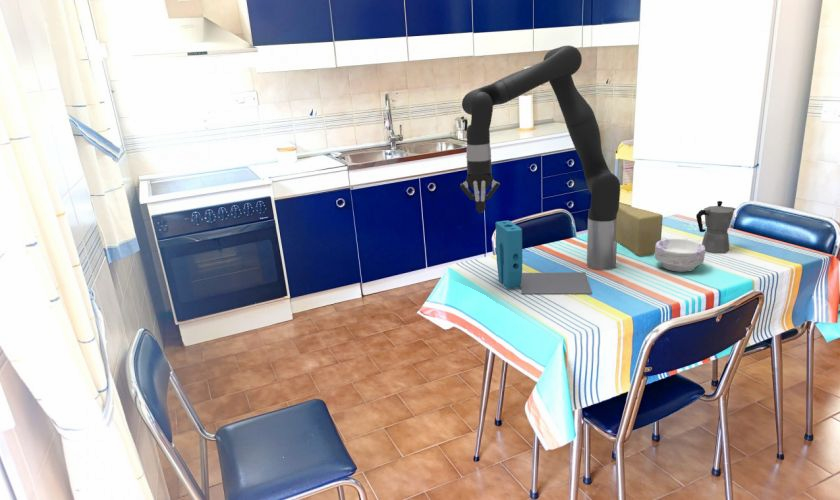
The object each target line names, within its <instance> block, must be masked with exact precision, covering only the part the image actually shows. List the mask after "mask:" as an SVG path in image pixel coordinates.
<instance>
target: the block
mask: <svg viewBox="0 0 840 500" xmlns="http://www.w3.org/2000/svg"><path fill="white" fill-rule="evenodd" d="M495 244H496V245H495V246H496V249H495V251H496V252H495V253H496V266H497V276H498V277H497V278H498V282H499V283H500V284H503V287H504V288H505V289H506V290H510V289H511V290H512V289H518V288H521V278H522V273H523V229H522V228H521V227H520V226H518V225H517V224H516V223H514V222H512V221H511V220H501V221H496V222H495Z"/></svg>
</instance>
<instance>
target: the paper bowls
mask: <svg viewBox="0 0 840 500" xmlns="http://www.w3.org/2000/svg"><path fill="white" fill-rule="evenodd" d="M705 253H706V251H705V246H704V245H702V243H701V242H698V241H695V240H691V239H685V238H665V239H661V240H660V241H658V242H657V243H656V245H655V254H654V258H655V260H656V261H658V262H659V263H660V265H661V267H663V268H664V269H666V270H669V271H673V272H677V273H679V272H682V273H685V272H690V271H693V270H694V269H695V268H696V267H698V266H699V265H702V264H703V263H704V261H705Z"/></svg>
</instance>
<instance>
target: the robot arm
mask: <svg viewBox="0 0 840 500" xmlns="http://www.w3.org/2000/svg"><path fill="white" fill-rule="evenodd" d="M582 59H583V57H582V54H581V52H580V50H579V48H577V47H575V46H573V45H562V46H560V47H556V48H553V49H550V50H549V51H547V53H545V54H544V57H543V60H542V61H540V62H538V63H536V64H534V65H532V66H529V67H527V68H523V69H522V70H518V71H516V72H514V73H511V74H509V75H507V76H504V77H503V78H500V79H498V80H496V81H495V82H493V83H490V84H487V85H483V86H482V87H479V88H476V89H473V90H471V91H469V92H467V93H466V94H465V96H464V95H463V96H464V97H463V98H462V101H461V107H462V109H463V112H465V113H466V114H467V115H470V116H471V118H470V124H469V125H468V126H467V128H466V156H465V157H466V170H467V171H466V172H467V175H466V178H465V181H463V183H460V186H459V188H460V189H461V190H462V192H464V194H465V195H466V196H467V197H468V198H469V200H471V201H472V200H473V201H475V210H476V212H478V214H481V213H484V212H485V210H486V201H487V200H490V199H491V198H492V197H493V195H494V194H495V192H496V191H497V190H498V188H499V187H500V182H499V181H496V180H494V176H493V175H492V149H491V143H490V142H491V140H490V139H491V134H490V128H491V122H492V118H493V112H494V106H499V105H503V104H506V103H509V102H510V101H512V100H514V99H516V98H518V97H520V96H522V95H525V94H526V93H528V92H530V91H532V90H534V89H535V88H538V87H539V86H542V85H544V84H546V83H548V82H549V85H550V86H551V88H552V90H553V92H554V95H555V97H556V99H557V102H558V105H559V108H560V111H561V113H562V116H563V119H564V121H565V125H566V128H567V131H568V135H569V136H570V139H571V142H572V144H573V147H574V148H575V152H576V153H577V155H578V157H579V159H580V162H581V166H582V169H583V173H584V178H585V183H586V187H587V189H588V190H587V191H589V193H590V195H591V196H590V208H589V209H588V212H587V215H588V216H587V237H586V238H587V239H586V240H587V242H586V243H587V245H586V246H587V247H586V266H587V267H588V268H589V269H593V270H598V271H604V270H605V271H606V270H611V269H616V268H617V266H616V265H617V248H618V244H617V243H618V242H617V241H616V218H617V212H618V210H619V203H620V200H621V199H620V196H621V183H620V180H619V178H618V177H617V176H616V175H615V174H614V173H612V172H611V170H610V169H609V165H608V164H607V162H606V159H605V157H604V154H603V150H602V140H601V131H600V128H599V124H598V121H597V118H596V115H595V112H594V110H593V109H592V107H591V105H590V104H589V103H588V102H587V101H586V99H585V98H584V97H583V96H582V94H581V93H580V92H579V90H578V89H577V87H576V85H575V82H574V79H573V75H574V74H576V73H577V72H578V70H579V69H580V68H581V66H582V61H583V60H582ZM490 186H491V189H490V190H489V192H488V193H487V194H486V190H488V188H489V187H490ZM469 187H470V189H472V190H473V191H474V193H473V192H471V190H470V189H469Z"/></svg>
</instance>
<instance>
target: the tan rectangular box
mask: <svg viewBox="0 0 840 500" xmlns="http://www.w3.org/2000/svg"><path fill="white" fill-rule="evenodd" d="M663 218H664V216H663V214H662V213H661V214H660V213H657V212H653V211H650V210H646V209H642V208H637V207H634V206H630V205H627V204H624V203H621V202H619V210H618V212H617V218H616V241H617V243H618V244H619V245H621V246H623V248H624V247H625V248H626V249H628V250H630V251H631V252H632V253H633V254H635V255H636V256H638V257H644V256H650V255H655V245H656V243H657V242H658V241H660V240H662V231H663V230H662V229H663Z"/></svg>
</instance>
